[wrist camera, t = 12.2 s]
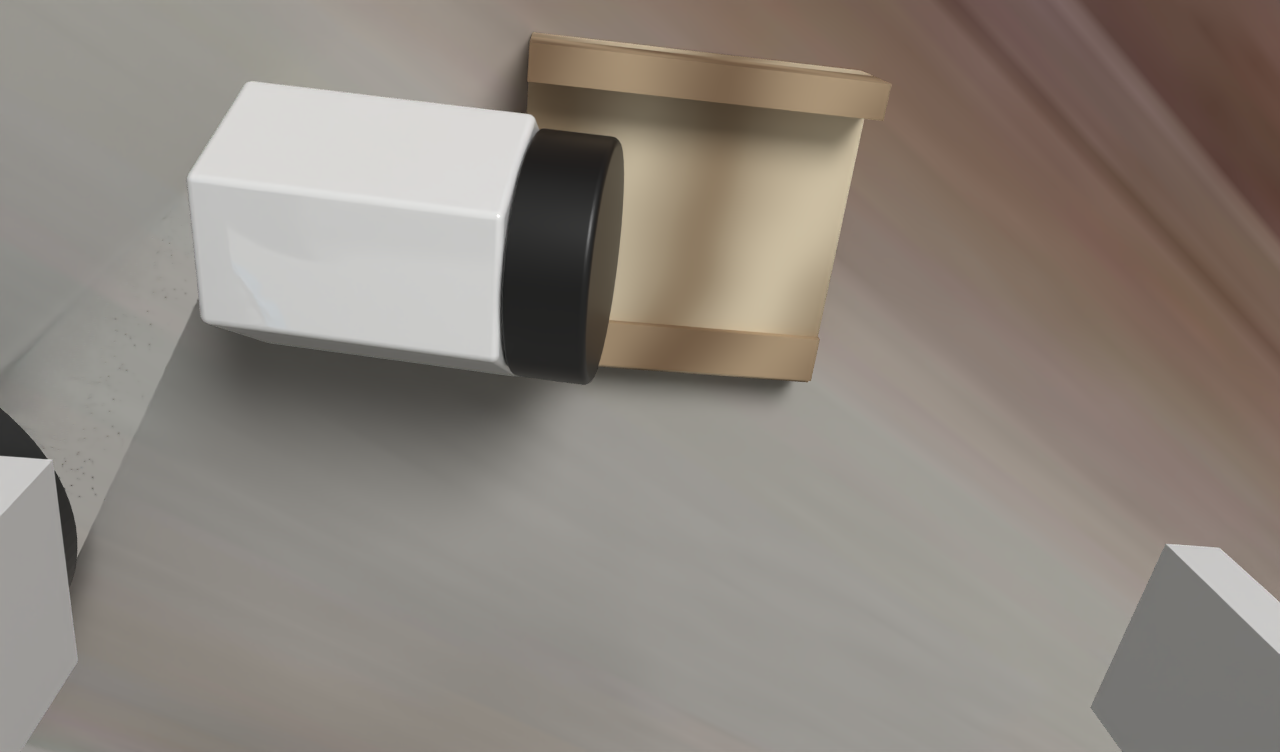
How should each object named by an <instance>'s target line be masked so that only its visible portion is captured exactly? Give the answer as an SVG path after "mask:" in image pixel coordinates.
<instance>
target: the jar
mask: <svg viewBox="0 0 1280 752" xmlns="http://www.w3.org/2000/svg"><path fill="white" fill-rule="evenodd" d="M186 182H187V191H188V201H189V210H190V219H191V229H192V239H193V248H194V258H195V268H196V277H197V287H198V297H199V308H200V316H201V319H202V320H203V321H204V322H205V323H207V324H209V325H213V326H216V327H219V328H222V329H226V330H229V331H232V332H235V333H238V334H241V335H245V336H248V337H251V338H254V339H257V340H260V341H263V342H266V343H271V344H279V345H286V346H293V347H301V348H308V349H315V350H323V351H330V352H338V353H345V354H352V355H360V356H367V357H374V358H382V359H389V360H397V361H404V362H411V363H419V364H426V365H433V366H441V367H448V368H456V369H463V370H470V371H478V372H485V373H492V374H500V375H507V376H514V377H517V376H523V377H530V378H537V379H545V380H552V381H559V382H567V383H574V384H582V385H586V384H588V383H590V382H591V381H592V379H593V378H594V376H595V374H596V371H597V369H598V366H599V362H600V359H601V355H602V351H603V347H604V343H605V338H606V334H607V329H608V323H609V318H610V312H611V306H612V300H613V294H614V287H615V280H616V273H617V265H618V256H619V247H620V237H621V226H622V214H623V197H624V157H623V149H622V145H621V143H620V141H619V140H618V139H617V138H616V137H612V136H604V135H595V134H587V133H579V132H570V131H562V130H554V129H545V128H543V129H539V127H538V124H537V122H536V119H535V117H534V116H532V115H530V114H525V113H516V112H508V111H499V110H491V109H482V108H474V107H466V106H457V105H449V104H441V103H432V102H424V101H415V100H407V99H399V98H390V97H382V96H374V95H365V94H357V93H348V92H340V91H332V90H323V89H315V88H307V87H298V86H290V85H282V84H273V83H265V82H256V81H249V82H247V83H246V84H244V86H243V87H242V89H241V90H240V92H239V94H238V95H237V97H236V98H235V100H234V102H233V103H232V105H231V106H230V108H229V110H228V111H227V113H226V114H225V116H224V118H223V119H222V121H221V122H220V124H219V126H218V127H217V129H216V130H215V132H214V134H213V135H212V137H211V138H210V140H209V142H208V143H207V145H206V146H205V148H204V150H203V151H202V153H201V154H200V156H199V158H198V159H197V161H196V162H195V164H194V166H193V167H192V169H191V170H190V172H189V174H188V175H187V180H186Z"/></svg>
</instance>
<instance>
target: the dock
mask: <svg viewBox="0 0 1280 752" xmlns="http://www.w3.org/2000/svg"><path fill="white" fill-rule="evenodd" d="M527 81H528V98H527V113H526V114H530V115H532V116H534V117H535V119H536V122H537V124H538V127H539V129H543V128H545V129H554V130H562V131H570V132H579V133H587V134H595V135H604V136H612V137H616V138H617V139H618V140H619V141H620V143H621V145H622V149H623V157H624V197H623V214H622V226H621V237H620V247H619V256H618V265H617V273H616V280H615V287H614V294H613V300H612V306H611V312H610V318H609V323H608V329H607V334H606V338H605V343H604V347H603V351H602V355H601V359H600V362H599V367H612V368H625V369H638V370H652V371H665V372H678V373H692V374H705V375H718V376H731V377H745V378H758V379H771V380H785V381H798V382H808V381H811V378H812V373H813V368H814V364H815V359H816V354H817V350H818V345H819V338H818V333H819V328H820V324H821V319H822V314H823V310H824V305H825V300H826V296H827V291H828V286H829V282H830V277H831V272H832V267H833V263H834V258H835V253H836V249H837V244H838V239H839V235H840V230H841V225H842V221H843V216H844V211H845V207H846V202H847V197H848V192H849V188H850V183H851V178H852V174H853V169H854V164H855V160H856V155H857V150H858V146H859V141H860V136H861V131H862V127H863V122H864V119H871V120H880V121H883V120H884V115H885V111H886V106H887V102H888V97H889V93H890V88H891V84H890V83H888V82H885V81H883V80H881V79H879V78H876V77H874V76H872V75H870V74H867V73H865V72H863V71H860V70H852V69H843V68H834V67H826V66H817V65H809V64H800V63H792V62H783V61H775V60H766V59H758V58H749V57H740V56H732V55H723V54H715V53H706V52H698V51H689V50H681V49H672V48H663V47H655V46H646V45H638V44H629V43H621V42H612V41H604V40H595V39H586V38H578V37H569V36H561V35H552V34H544V33H535V32H533V33H532V36H531V40H530V45H529V60H528V76H527Z"/></svg>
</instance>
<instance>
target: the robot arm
mask: <svg viewBox="0 0 1280 752" xmlns="http://www.w3.org/2000/svg"><path fill="white" fill-rule="evenodd" d="M76 560H77V533H76V525H75V520H74V516H73V512H72V509H71V505H70V502H69V499H68V497H67V494H66V492H65V489H64V487H63V485H62V483H61V481H60V479H59V477H58V475H57V474H56V472H55V470H54V465H53V460H48V459H47V458H46V456H45V455H44V454H43V452H42V451H41V450H40V448H39V447H38V446H37V445H36V443H35V442H34V441H33V440H32V439H31V438H30V436H29V435H28V434H27V433H26V432H25V431H24V430H23V429H22V428H21V427H20V426H19V425H18V424H17V423H16V422H15V421H14V420H13V419H12V418H11V417H10V416H9V415H8V414H6V413H5V412H4V411H3V410H2V409H1V408H0V752H21V750H22V749H23V747H24V745H25V744H26V742H27V741H28V739H29V738H30V736H31V735H32V733H33V731H34V730H35V728H36V727H37V725H38V724H39V722H40V720H41V719H42V717H43V716H44V714H45V713H46V711H47V709H48V708H49V706H50V705H51V703H52V702H53V700H54V698H55V697H56V695H57V694H58V692H59V691H60V689H61V687H62V686H63V684H64V683H65V681H66V680H67V678H68V676H69V675H70V673H71V672H72V670H73V669H74V667H75V665H76V664H77V662H78V656H77V648H76V640H75V632H74V624H73V616H72V608H71V601H70V593H69V587H70V584H71V582H72V578H73V575H74V571H75V566H76ZM1091 709H1092V710H1093V712H1094V713H1095V714H1096V716H1097V717H1098V719H1099V720H1100V721H1101V723H1102V724H1103V726H1104V727H1105V728H1106V730H1107V731H1108V733H1109V734H1110V735H1111V737H1112V738H1113V740H1114V741H1115V742H1116V744H1117V745H1118V747H1119V748H1120V749H1121V751H1122V752H1280V602H1279V601H1278V600H1277V599H1276V598H1275V597H1273V596H1272V595H1271V594H1270V593H1269V592H1268V591H1267V590H1266V589H1265V588H1263V587H1262V586H1261V585H1260V584H1259V583H1258V582H1257V581H1256V580H1255V579H1253V578H1252V577H1251V576H1250V575H1249V574H1248V573H1247V572H1246V571H1245V570H1243V569H1242V568H1241V567H1240V566H1239V565H1238V564H1237V563H1236V562H1235V561H1233V560H1232V559H1231V558H1230V557H1229V556H1228V555H1227V554H1226V553H1225V552H1223V551H1222V550H1221V549H1220V548H1214V547H1201V546H1188V545H1175V544H1165V547H1164V549H1163V551H1162V553H1161V555H1160V558H1159V560H1158V562H1157V564H1156V566H1155V568H1154V571H1153V573H1152V575H1151V577H1150V579H1149V581H1148V584H1147V586H1146V588H1145V590H1144V592H1143V594H1142V597H1141V599H1140V601H1139V603H1138V605H1137V608H1136V610H1135V612H1134V614H1133V616H1132V618H1131V621H1130V623H1129V625H1128V627H1127V629H1126V631H1125V634H1124V636H1123V638H1122V640H1121V642H1120V645H1119V647H1118V649H1117V651H1116V653H1115V655H1114V658H1113V660H1112V662H1111V664H1110V666H1109V668H1108V671H1107V673H1106V675H1105V677H1104V679H1103V682H1102V684H1101V686H1100V688H1099V690H1098V692H1097V695H1096V697H1095V699H1094V701H1093V703H1092V705H1091Z"/></svg>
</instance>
